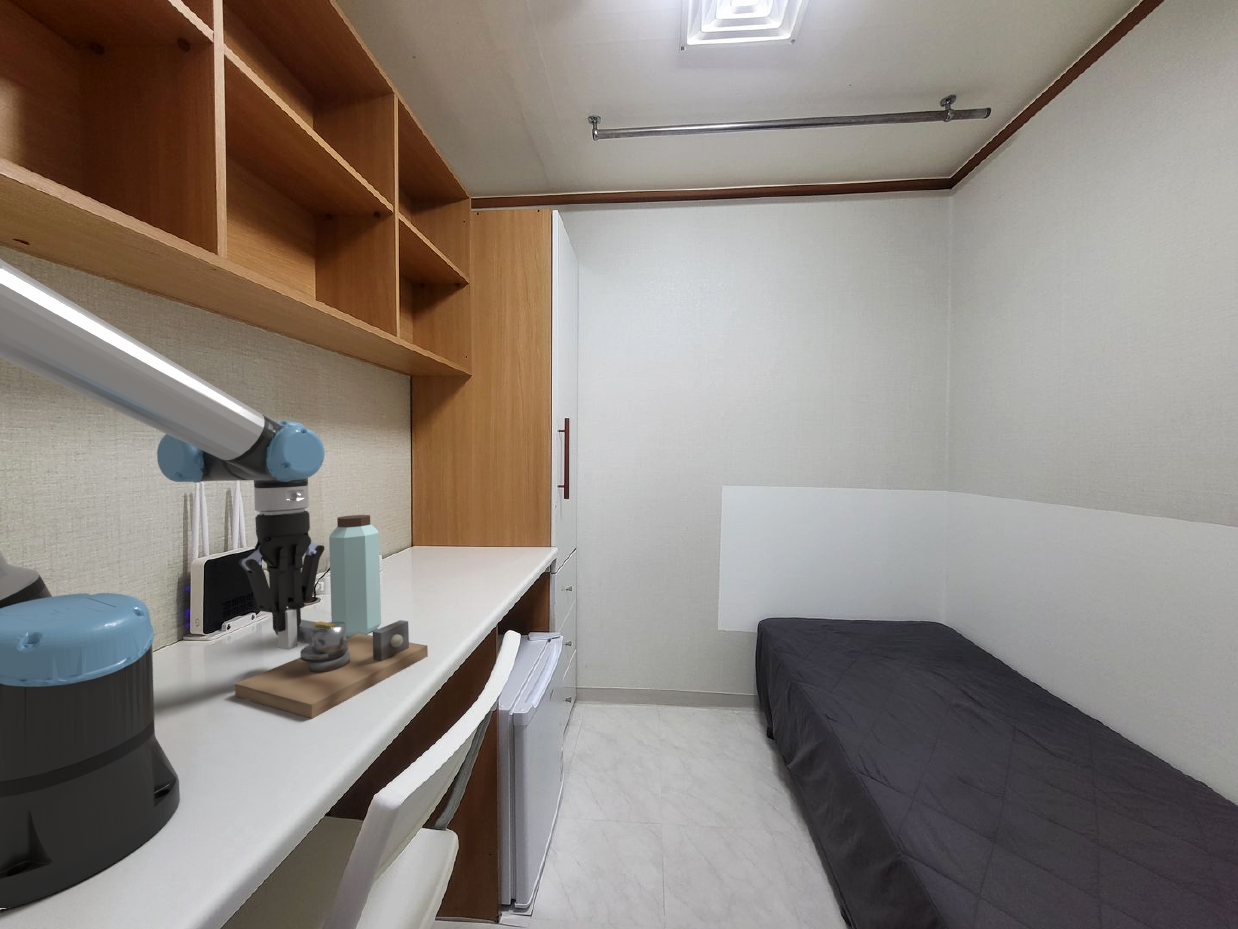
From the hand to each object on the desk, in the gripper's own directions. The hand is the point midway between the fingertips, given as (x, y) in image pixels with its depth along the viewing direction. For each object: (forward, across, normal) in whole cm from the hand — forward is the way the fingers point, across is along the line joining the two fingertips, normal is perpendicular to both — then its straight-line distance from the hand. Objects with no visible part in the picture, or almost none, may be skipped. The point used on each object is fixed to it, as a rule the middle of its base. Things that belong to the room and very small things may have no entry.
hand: (288, 647), depth 79 cm
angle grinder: (+1, +3, -2) cm, 3 cm away
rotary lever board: (+5, +4, -8) cm, 10 cm away
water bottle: (+6, +20, +8) cm, 22 cm away
